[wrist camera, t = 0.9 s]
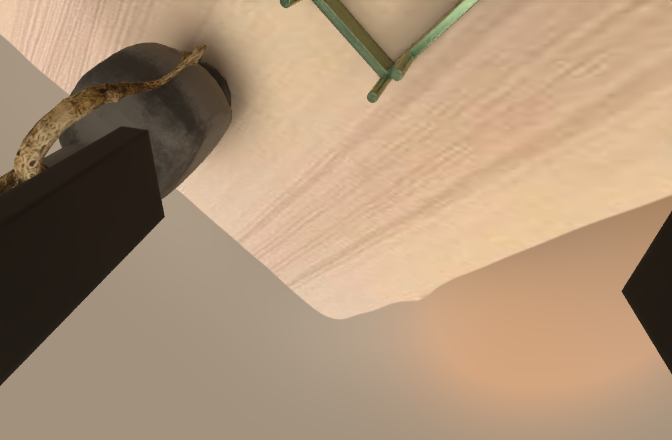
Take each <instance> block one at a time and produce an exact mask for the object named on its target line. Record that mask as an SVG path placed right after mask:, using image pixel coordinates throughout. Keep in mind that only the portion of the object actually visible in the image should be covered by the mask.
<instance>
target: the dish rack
mask: <svg viewBox="0 0 672 440" xmlns="http://www.w3.org/2000/svg"><path fill="white" fill-rule="evenodd" d="M300 1H301V0H280V3H281V5H282V6H283V7H284V8H288V7H290V6H292V5H294V4H296V3H298V2H300ZM312 1H313V2H314V3H315V5H316V6H317V7H318V8H319V9H320V10H321V11H322V12H323V14H324V15H325V16H326V17H327V18H328V19H329V20H330V21H331V23H332V24H333V25H334V26H335V27H336V28H337V29H338V30H339V32H340V33H341V34H342V35H343V36H344V37H345V38H346V39H347V41H348V42H349V43H350V44H351V45H352V46H353V47H354V48H355V50H356V51H357V52H358V53H359V54H360V55H361V56H362V57H363V59H364V60H365V61H366V62H367V63H368V64H369V65H370V66H371V68H372V69H373V70H374V71H375V72H376V73H377V74H378V75H379V77H380V79H379V80H378V82H377V83H376V84H375V86H374V87H373V88H372V89H371V91H370V92H369V93H368V95H367V99H368V101H369V102H371V103H374V102H376V101H377V100H378V98H379V97H380V95H381V94H382V93H383V91H384V90H385V88H386V87H387V85H388V84H389V83H390V81H391V80H392V79H394V80H395V81H399V80H401V79H402V77H403V76H404V74H405V73H406V71H407V70H408V68H409V67H410V65H411V64H412V62H413V61H414V59H415V58H416V57H417V56H418V55H419V54H420V53H421V52H423V51H424V50H425V49H426V48H427V47H428V46H429V45H430V44H431V43H433V42H434V41H435V40H436V39H437V38H438V37H439V36H440V35H441V34H442V33H444V32H445V31H446V30H447V29H448V28H449V27H450V26H451V25H452V24H453V23H455V22H456V21H457V20H458V19H459V18H460V17H461V16H462V15H463V14H465V13H466V12H467V11H468V10H469V9H470V8H471V7H472V6H473V5H474V4H476V3H477V2H478V1H479V0H460V1H459V2H458V3H457V4H456V5H455V6H454V7H452V8H451V9H450V10H449V11H448V12H447V13H446V14H445V15H444V16H443V17H442V18H441V19H440V20H439V21H438V22H436V23H435V24H434V25H433V26H432V27H431V28H430V29H429V30H428V31H427V32H426V33H425V34H424V35H423V36H422V37H421V38H419V39H418V40H417V41H416V42H415V43H414V44H412V45H411V47H410V48H409V49H408V50H407V51H406V52H405V53H404V54H402V55H401V56H400V57H399V58H398V59H397V60H396V61H395V62H394V63H393V62H392V61H391V60H390V59H389V57H388V56H387V55H386V54H385V53H384V52H383V50H382V49H381V48H380V47H379V46H378V45H377V44H376V42H375V41H374V40H373V39H372V38H371V37H370V36H369V34H368V33H367V32H366V31H365V30H364V29H363V27H362V26H361V25H360V24H359V23H358V22H357V21H356V19H355V18H354V17H353V16H352V15H351V14H350V13H349V11H348V10H347V9H346V8H345V7H344V6H343V4H342V3H341V2H340V1H339V0H312Z"/></svg>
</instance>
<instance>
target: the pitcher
mask: <svg viewBox="0 0 672 440" xmlns="http://www.w3.org/2000/svg"><path fill="white" fill-rule="evenodd" d="M205 49H206V45H204V46H200V47H196V48H195V49H193V50H192V51H191V52H185V51H183V53H182V52H180V51H178V50H176V49H173V48H171V47H168V46H165V45H162V44H158V43H140V44H136V45H133V46H129V47H126V48H124V49H122V50H120V51H118V52H117V53H115V54H113V55H112V56H110V57H109V58H107V59H106V60H104V61H103V62H101V63H99V64H98V65H96V66H95V67H94V68H92V69H91V70H90V71H88V72H87V73H86V74H85V75H84V76H82V78H81V79H80V80H79V82H78V83H77V85H76V86H75V88H74V90H73V91H72V93H71V95H70V96H69V97H68V98H65V99H63V100H62V101H61V102H60V103H59V104H58V105H57V106H56V107H55V108H53V109H52V110H51V111H50V112H48V113H47V114H46V115H45V116H43V117H42V118H41V119H40V120H39V121H38V122H37V123H36V124H35V126H34V127H33V128H32V129H31V131H30V132H29V133H28V135H27V136H26V137H25V139H24V140H23V142H22V144H21V145H20V147H19V149H18V152H17V154H16V157H15V160H14V169H13V170H11V171H9V172H8V173H6V174H5V175H3V176H1V177H0V195H2V194H4V193H6V192H7V191H9V190H11V189H12V188H14V187H16V186H18V185H19V184H21V183H23V182H25V181H26V180H28V179H30V178H32V177H33V176H35V175H37V174H39V173H40V172H42V171H44V170H46V169H47V168H49V167H51V166H53V165H54V164H56V163H58V162H60V161H61V160H63V159H65V158H67V157H68V156H70V155H72V154H74V153H75V152H77V151H79V150H81V149H82V148H84V147H86V146H88V145H89V144H91V143H93V142H95V141H96V140H98V139H100V138H102V137H103V136H105V135H107V134H109V133H110V132H112V131H114V130H116V129H117V128H119V127H121V126H124V127H131V128H138V129H145V130H148V131H149V136H150V142H151V147H152V152H153V158H154V163H155V168H156V174H157V179H158V184H159V190H160V195H161V199H163V198H164V197H166V196H167V195H168V194H169V193H171V192H172V191H173V190H174V189H175V188H177V187H178V186H179V185H180V184H181V183H182V182H183V181H184V180H185V179H186V178H187V177H188V176H189V175H190V174H191V173H192V172H193V171H194V170H195V169H196V168H197V167H198V166H199V165H200V164H201V163H202V162H203V160H204V159H205V158H206V157H207V156H208V155H209V154H210V152H211V151H212V150H213V149H214V147H215V146H216V145H217V144H218V142H219V141H220V140H221V138H222V137H223V135H224V133H225V132H226V130H227V128H228V126H229V124H230V122H231V118H232V110H231V108H230V106H231V95H230V91H229V88H228V86H227V83H226V81H225V80H224V79H223V77H222V76H221V75H220V73H219V72H218V71H217V70H216V69H214V68H213V67H211V66H210V65H208V64H207V63H204V62H199V60H200V59H201V57H202V54H203V53H204V51H205ZM58 138H59V142H60V144H61V146H62V148H61V149H60V150H58V151H56V152H54V153H52V154H51V155H49V156H47V157H45V155H46V153H47V152H48V150H49V149H50V148H51V146H52V145H53V143H54V142H55V141H56V140H57V139H58ZM44 157H45V158H44ZM43 158H44V159H43Z"/></svg>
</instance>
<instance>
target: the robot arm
mask: <svg viewBox="0 0 672 440" xmlns="http://www.w3.org/2000/svg"><path fill="white" fill-rule="evenodd" d="M164 217H165V216H164V211H163V206H162V201H161V195H160V190H159V184H158V179H157V174H156V168H155V163H154V158H153V152H152V147H151V142H150V136H149V131H148V130H145V129H138V128H131V127H124V126H121V127H119V128H117V129H116V130H114V131H112V132H110V133H109V134H107V135H105V136H103V137H102V138H100V139H98V140H96V141H95V142H93V143H91V144H89V145H88V146H86V147H84V148H82V149H81V150H79V151H77V152H75V153H74V154H72V155H70V156H68V157H67V158H65V159H63V160H61V161H60V162H58V163H56V164H54V165H53V166H51V167H49V168H47V169H46V170H44V171H42V172H40V173H39V174H37V175H35V176H33V177H32V178H30V179H28V180H26V181H25V182H23V183H21V184H19V185H18V186H16V187H14V188H12V189H11V190H9V191H7V192H6V193H4V194H2V195H0V386H1V384H2V383H3V382H4V381H5V380H6V379H7V378H8V377H9V376H10V375H11V374H12V373H13V372H14V371H15V370H16V369H17V368H18V367H19V366H20V365H21V364H22V363H23V362H24V361H25V360H26V359H27V358H28V357H29V356H30V355H31V354H32V353H33V352H34V351H35V349H37V347H38V346H39V345H40V344H41V343H42V342H43V341H44V340H45V339H46V338H47V337H48V336H49V335H50V334H51V333H52V332H53V331H54V330H55V329H56V328H57V327H58V326H59V325H60V324H61V323H62V322H63V321H64V320H65V319H66V318H67V317H68V316H69V315H70V314H71V313H72V312H73V310H74V309H75V308H76V307H77V306H78V305H79V304H80V303H81V302H82V301H83V300H84V299H85V298H86V297H87V296H88V295H89V294H90V293H91V292H92V291H93V290H94V289H95V288H96V287H97V286H98V285H99V284H100V283H101V282H102V281H103V280H104V279H105V278H106V276H107V275H108V274H109V273H110V272H111V271H112V270H113V269H114V268H115V267H116V266H117V265H118V264H119V263H120V262H121V261H122V260H123V259H124V258H125V257H126V256H127V255H128V254H129V253H130V252H131V251H132V250H133V249H134V248H135V247H136V246H137V245H138V244H139V243H140V241H142V240H143V239H144V237H145V236H146V235H147V234H148V233H149V232H150V231H151V230H152V229H153V228H154V227H155V226H156V225H157V224H158V223H159V222H160V221H161V220H162V219H163V218H164ZM622 293H623V295H624V296H625V298H626V299H627V301H628V303H629V304H630V306H631V308H632V309H633V311H634V313H635V314H636V316H637V318H638V319H639V321H640V323H641V324H642V326H643V327H644V329H645V331H646V332H647V334H648V336H649V337H650V339H651V341H652V342H653V344H654V346H655V347H656V349H657V351H658V352H659V354H660V355H661V357H662V359H663V360H664V362H665V364H666V365H667V367H668V369H669V370H670V372H671V374H672V212H671V213H670V215H669V216H668V218H667V219H666V221H665V223H664V224H663V226H662V227H661V229H660V231H659V232H658V234H657V235H656V237H655V239H654V241H653V242H652V243H651V245H650V247H649V248H648V250H647V252H646V253H645V255H644V256H643V258H642V259H641V261H640V263H639V264H638V266H637V267H636V269H635V271H634V272H633V274H632V276H631V277H630V279H629V280H628V282H627V283H626V285H625V286H624V288H623V290H622Z"/></svg>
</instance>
